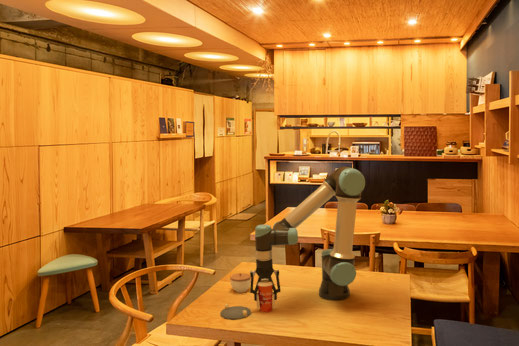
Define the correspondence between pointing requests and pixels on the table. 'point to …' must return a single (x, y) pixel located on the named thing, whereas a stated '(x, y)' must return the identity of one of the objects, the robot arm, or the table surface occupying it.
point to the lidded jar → (240, 282)
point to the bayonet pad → (235, 312)
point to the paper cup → (265, 295)
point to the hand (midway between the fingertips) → (265, 306)
